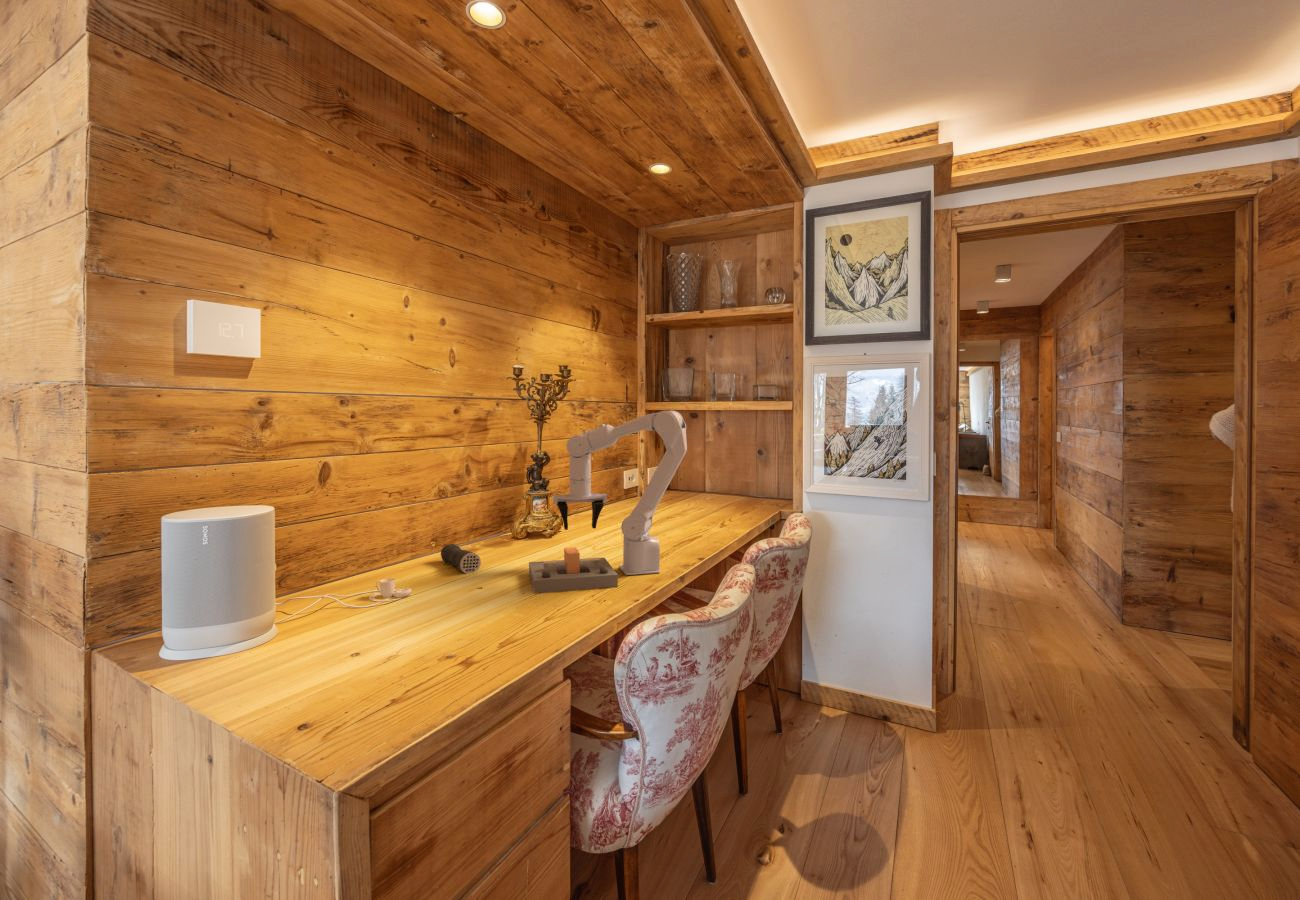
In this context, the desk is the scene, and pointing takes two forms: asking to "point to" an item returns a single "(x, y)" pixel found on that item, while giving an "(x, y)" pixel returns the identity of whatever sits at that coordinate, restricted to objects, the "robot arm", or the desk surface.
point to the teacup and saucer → (389, 590)
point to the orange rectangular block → (572, 559)
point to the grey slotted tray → (572, 575)
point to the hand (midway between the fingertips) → (580, 528)
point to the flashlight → (461, 558)
